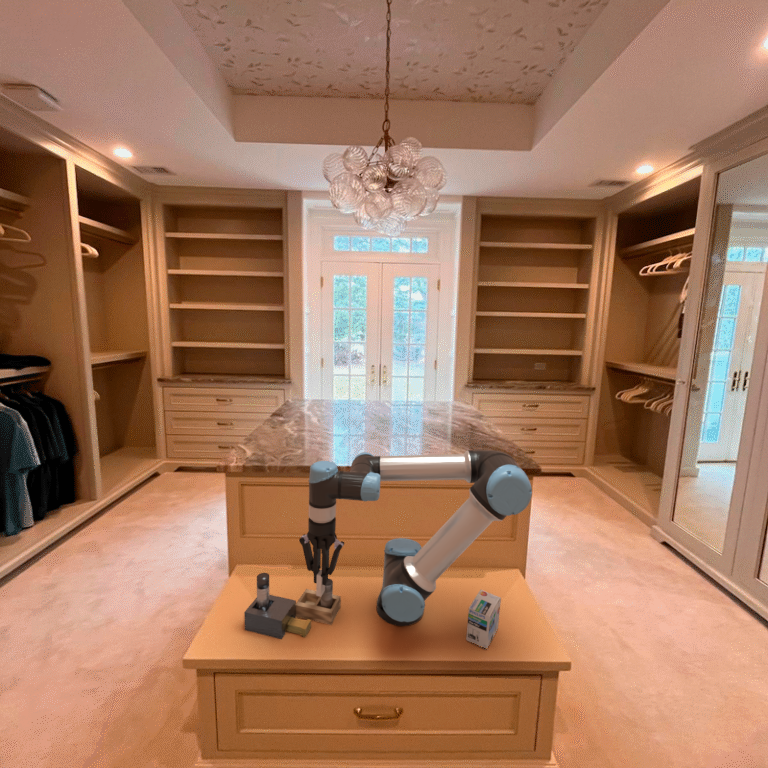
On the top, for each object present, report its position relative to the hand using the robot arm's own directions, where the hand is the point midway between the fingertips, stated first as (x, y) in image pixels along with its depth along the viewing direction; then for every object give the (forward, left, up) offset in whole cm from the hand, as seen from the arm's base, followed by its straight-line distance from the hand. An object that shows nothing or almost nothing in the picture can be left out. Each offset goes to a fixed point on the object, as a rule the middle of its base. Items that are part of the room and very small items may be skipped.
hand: (320, 593), depth 121 cm
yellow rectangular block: (+9, 0, -14) cm, 17 cm away
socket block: (+16, 0, -14) cm, 21 cm away
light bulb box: (-46, -15, -14) cm, 51 cm away
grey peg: (+18, 0, -11) cm, 21 cm away
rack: (+4, -9, -14) cm, 17 cm away
